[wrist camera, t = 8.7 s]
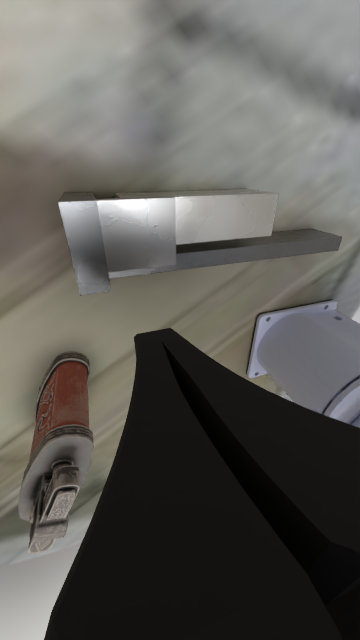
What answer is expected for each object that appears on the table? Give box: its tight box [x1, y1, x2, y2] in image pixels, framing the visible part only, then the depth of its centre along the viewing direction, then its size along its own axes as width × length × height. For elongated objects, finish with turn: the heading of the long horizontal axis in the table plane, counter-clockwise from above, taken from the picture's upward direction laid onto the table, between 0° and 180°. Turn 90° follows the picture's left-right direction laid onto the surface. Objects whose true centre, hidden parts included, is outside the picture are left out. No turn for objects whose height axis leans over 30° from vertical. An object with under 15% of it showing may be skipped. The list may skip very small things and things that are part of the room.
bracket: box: [58, 192, 342, 296], centre depth 16 cm, size 18×4×5 cm, turn 90°
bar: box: [115, 189, 279, 245], centre depth 15 cm, size 9×2×4 cm, turn 90°
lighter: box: [18, 352, 94, 553], centre depth 17 cm, size 8×3×10 cm, turn 153°
